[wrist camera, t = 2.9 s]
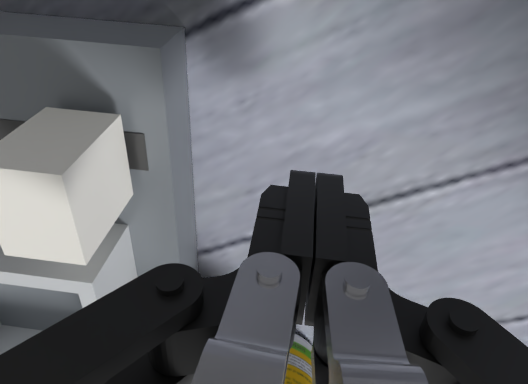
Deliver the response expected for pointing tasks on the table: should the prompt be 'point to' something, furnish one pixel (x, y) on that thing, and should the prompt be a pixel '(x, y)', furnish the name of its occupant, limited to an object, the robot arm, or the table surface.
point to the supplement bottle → (299, 362)
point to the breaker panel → (137, 146)
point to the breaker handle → (62, 184)
